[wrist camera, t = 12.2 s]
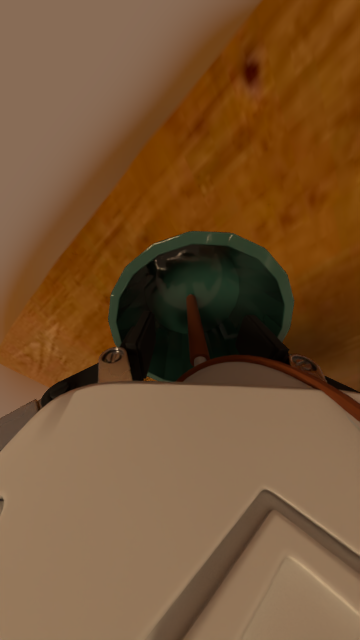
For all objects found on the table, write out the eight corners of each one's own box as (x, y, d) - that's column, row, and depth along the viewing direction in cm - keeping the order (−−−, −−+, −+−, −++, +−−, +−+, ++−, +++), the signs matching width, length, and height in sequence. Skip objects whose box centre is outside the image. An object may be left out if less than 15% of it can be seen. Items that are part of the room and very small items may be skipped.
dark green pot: (256, 239, 15) (340, 237, 7) (229, 336, 21) (256, 390, 13) (135, 234, 14) (81, 226, 7) (146, 332, 21) (125, 385, 13)
